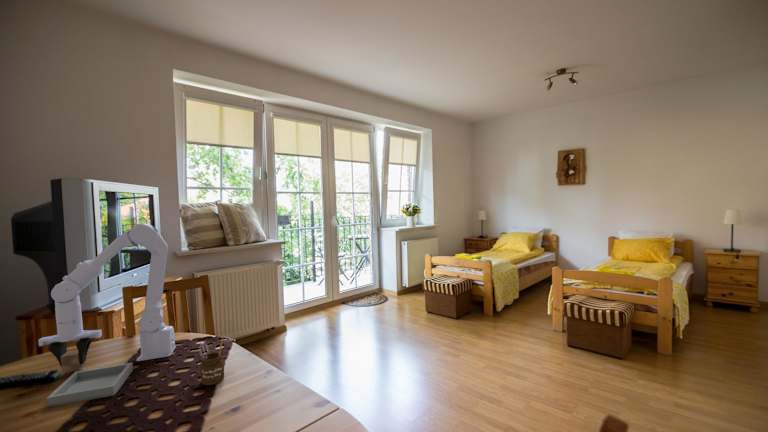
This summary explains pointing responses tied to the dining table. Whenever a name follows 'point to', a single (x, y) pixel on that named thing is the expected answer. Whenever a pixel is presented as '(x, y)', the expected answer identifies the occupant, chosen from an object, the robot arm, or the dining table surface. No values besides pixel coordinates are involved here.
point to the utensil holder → (212, 367)
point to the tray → (90, 384)
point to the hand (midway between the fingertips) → (73, 364)
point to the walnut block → (71, 362)
